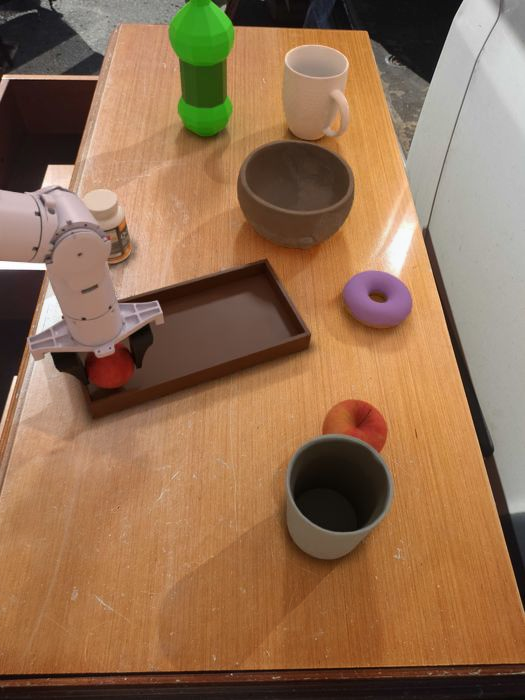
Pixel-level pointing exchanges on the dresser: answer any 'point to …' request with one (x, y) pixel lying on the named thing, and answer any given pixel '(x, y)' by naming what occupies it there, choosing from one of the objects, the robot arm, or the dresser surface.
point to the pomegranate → (110, 367)
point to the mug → (315, 91)
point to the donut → (374, 312)
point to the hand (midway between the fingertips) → (111, 370)
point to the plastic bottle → (203, 65)
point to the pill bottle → (110, 222)
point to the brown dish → (207, 334)
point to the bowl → (295, 192)
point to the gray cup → (335, 494)
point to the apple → (357, 422)
